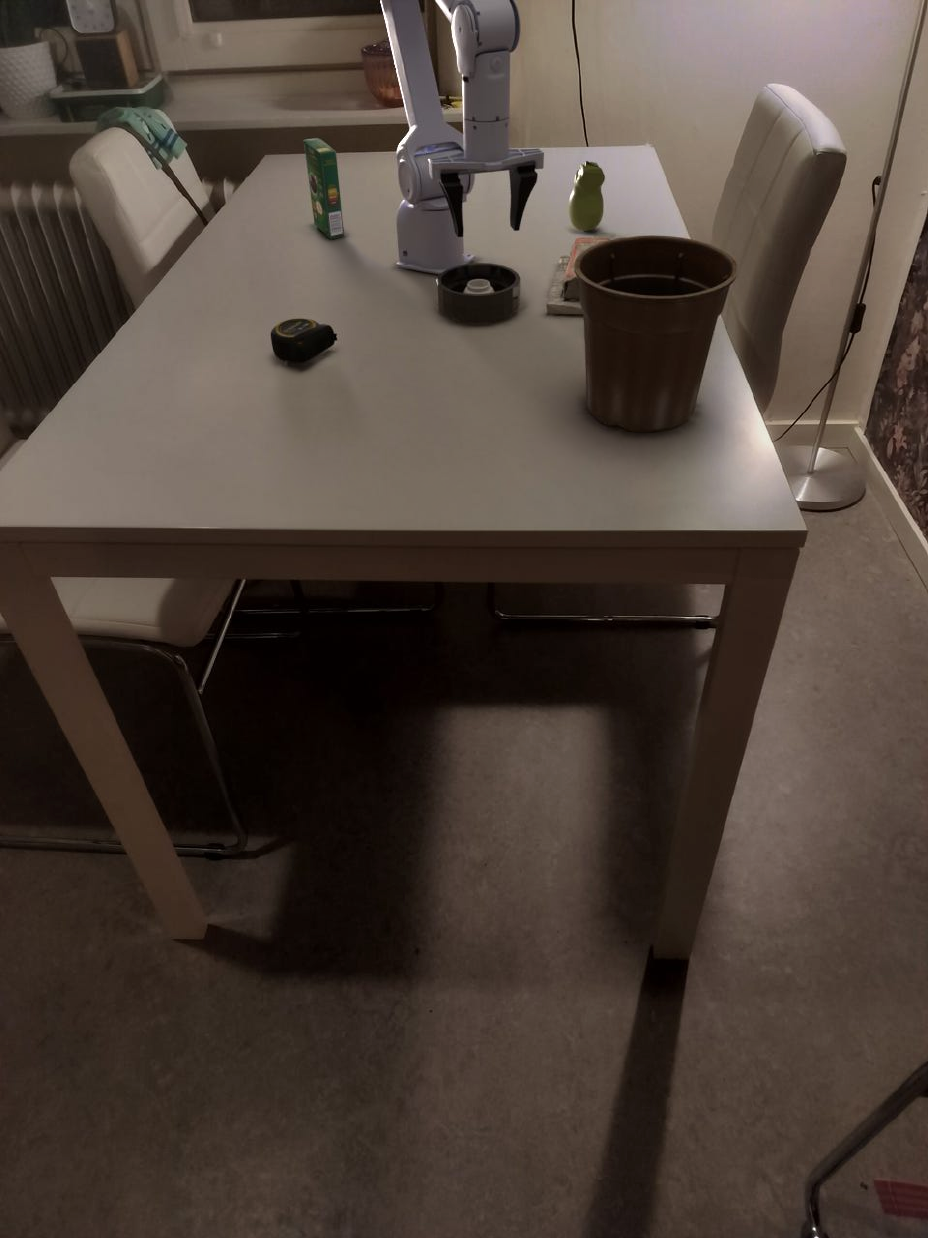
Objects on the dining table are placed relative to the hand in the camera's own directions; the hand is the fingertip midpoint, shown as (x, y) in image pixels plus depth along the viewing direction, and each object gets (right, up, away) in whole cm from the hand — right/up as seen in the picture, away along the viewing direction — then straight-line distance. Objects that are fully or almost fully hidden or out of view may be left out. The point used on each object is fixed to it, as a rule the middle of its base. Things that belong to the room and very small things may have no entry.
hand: (487, 231), depth 116 cm
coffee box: (-25, +13, +29) cm, 40 cm away
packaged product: (+14, -5, +8) cm, 17 cm away
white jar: (-1, -9, +4) cm, 9 cm away
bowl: (-1, -9, +4) cm, 10 cm away
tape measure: (-23, -18, -5) cm, 30 cm away
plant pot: (+17, -28, -17) cm, 36 cm away
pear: (+17, +12, +26) cm, 33 cm away
